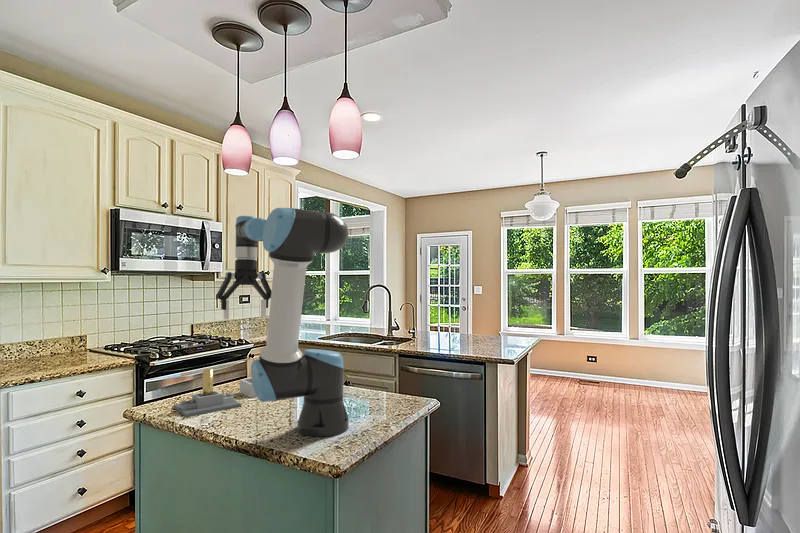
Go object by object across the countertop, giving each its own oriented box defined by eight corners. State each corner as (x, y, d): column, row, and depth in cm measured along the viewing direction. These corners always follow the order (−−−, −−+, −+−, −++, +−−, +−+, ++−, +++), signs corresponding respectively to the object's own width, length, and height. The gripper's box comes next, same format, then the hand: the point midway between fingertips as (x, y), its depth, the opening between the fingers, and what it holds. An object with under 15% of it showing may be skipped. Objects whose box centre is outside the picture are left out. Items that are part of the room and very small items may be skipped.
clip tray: (293, 389, 174) (293, 377, 174) (250, 397, 162) (250, 384, 162) (282, 385, 181) (282, 373, 181) (239, 392, 169) (239, 379, 169)
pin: (213, 404, 149) (214, 369, 150) (204, 405, 147) (204, 370, 148) (210, 402, 152) (211, 368, 152) (201, 403, 150) (201, 369, 150)
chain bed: (240, 406, 150) (241, 393, 150) (185, 417, 138) (185, 403, 138) (226, 398, 161) (226, 386, 161) (173, 407, 149) (174, 394, 149)
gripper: (274, 260, 166) (273, 315, 165) (206, 258, 149) (205, 319, 148) (283, 260, 160) (282, 317, 160) (214, 257, 144) (213, 320, 143)
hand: (245, 318), depth 154 cm, fingers open, 13 cm apart
